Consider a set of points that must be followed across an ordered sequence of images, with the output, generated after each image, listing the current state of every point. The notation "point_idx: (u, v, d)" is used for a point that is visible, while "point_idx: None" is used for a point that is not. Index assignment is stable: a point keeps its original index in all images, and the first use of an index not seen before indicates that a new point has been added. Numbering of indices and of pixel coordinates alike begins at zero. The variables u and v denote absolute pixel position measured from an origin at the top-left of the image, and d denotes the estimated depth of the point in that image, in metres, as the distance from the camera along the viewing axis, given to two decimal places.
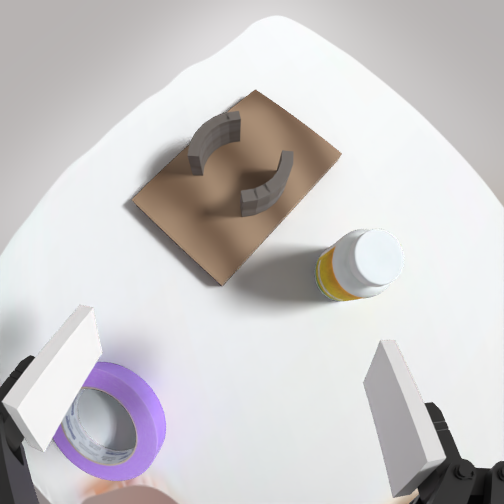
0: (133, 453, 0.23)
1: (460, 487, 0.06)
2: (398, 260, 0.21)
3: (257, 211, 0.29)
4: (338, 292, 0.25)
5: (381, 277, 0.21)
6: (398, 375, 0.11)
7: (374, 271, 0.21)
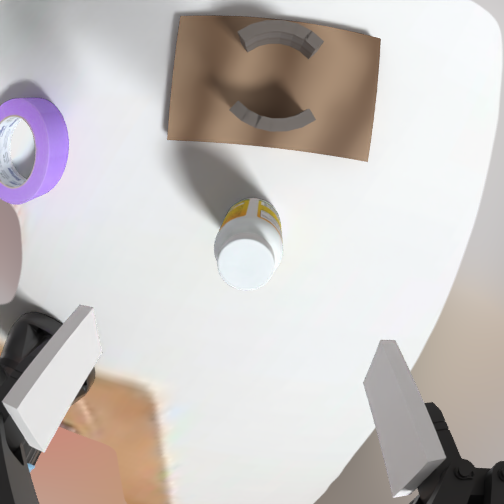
0: (17, 187, 0.27)
1: (460, 487, 0.06)
2: (254, 283, 0.23)
3: None
4: None
5: (228, 276, 0.23)
6: (398, 375, 0.11)
7: (228, 267, 0.22)
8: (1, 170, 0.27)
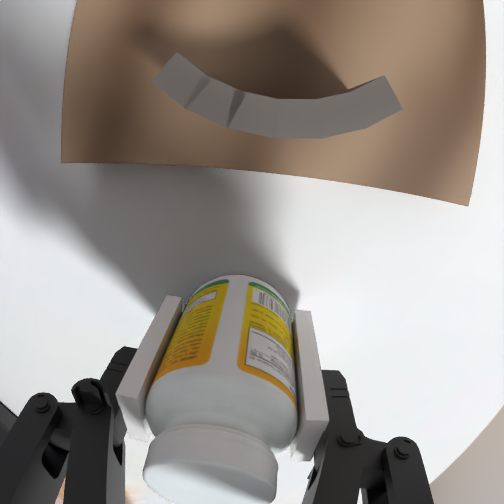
0: None
1: (349, 454, 0.08)
2: None
3: None
4: None
5: (173, 497, 0.08)
6: (301, 340, 0.13)
7: (170, 489, 0.07)
8: None
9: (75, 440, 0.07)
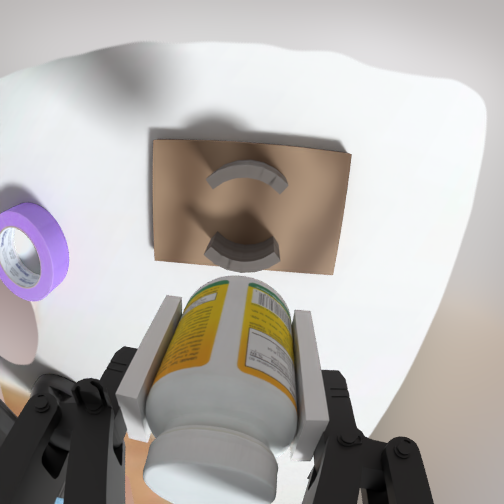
0: (28, 288, 0.32)
1: (349, 455, 0.08)
2: None
3: None
4: None
5: (173, 498, 0.08)
6: (301, 340, 0.13)
7: (170, 490, 0.07)
8: (10, 268, 0.32)
9: (75, 440, 0.07)
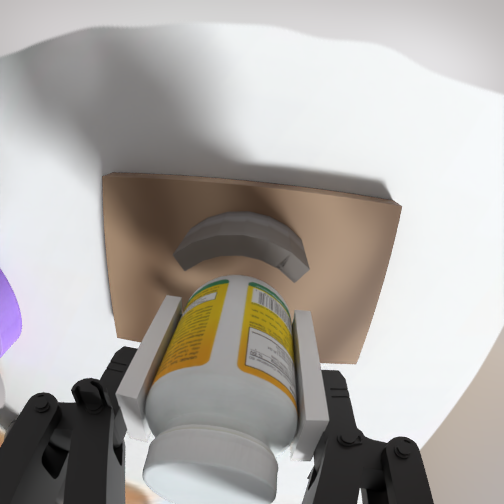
0: None
1: (349, 454, 0.08)
2: None
3: None
4: None
5: (173, 497, 0.08)
6: (301, 340, 0.13)
7: (170, 490, 0.07)
8: None
9: (75, 440, 0.07)
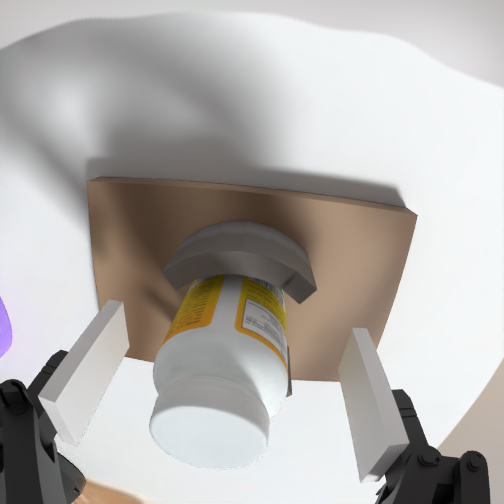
0: None
1: (426, 474, 0.07)
2: (227, 463, 0.10)
3: None
4: None
5: (175, 450, 0.09)
6: (366, 361, 0.12)
7: (173, 441, 0.09)
8: None
9: (7, 441, 0.06)
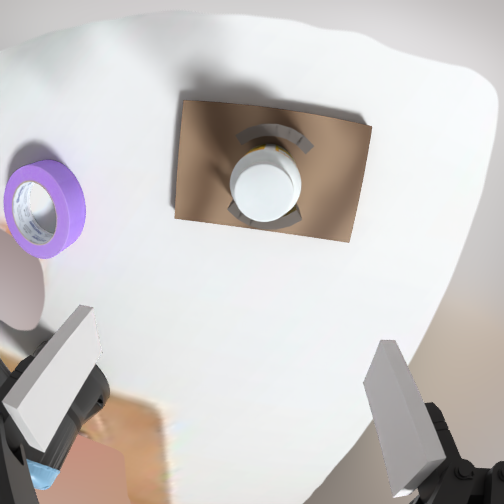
0: (41, 245, 0.33)
1: (460, 487, 0.06)
2: (271, 213, 0.21)
3: None
4: None
5: (245, 204, 0.21)
6: (398, 375, 0.11)
7: (245, 195, 0.21)
8: (23, 225, 0.33)
9: None
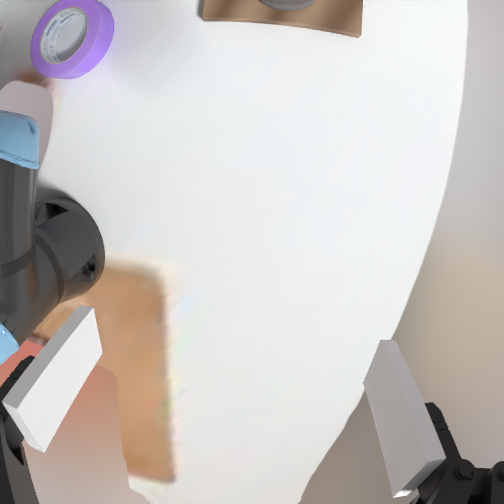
0: (63, 61, 0.29)
1: (460, 487, 0.06)
2: None
3: (265, 3, 0.27)
4: None
5: None
6: (398, 375, 0.11)
7: None
8: (47, 55, 0.29)
9: None
